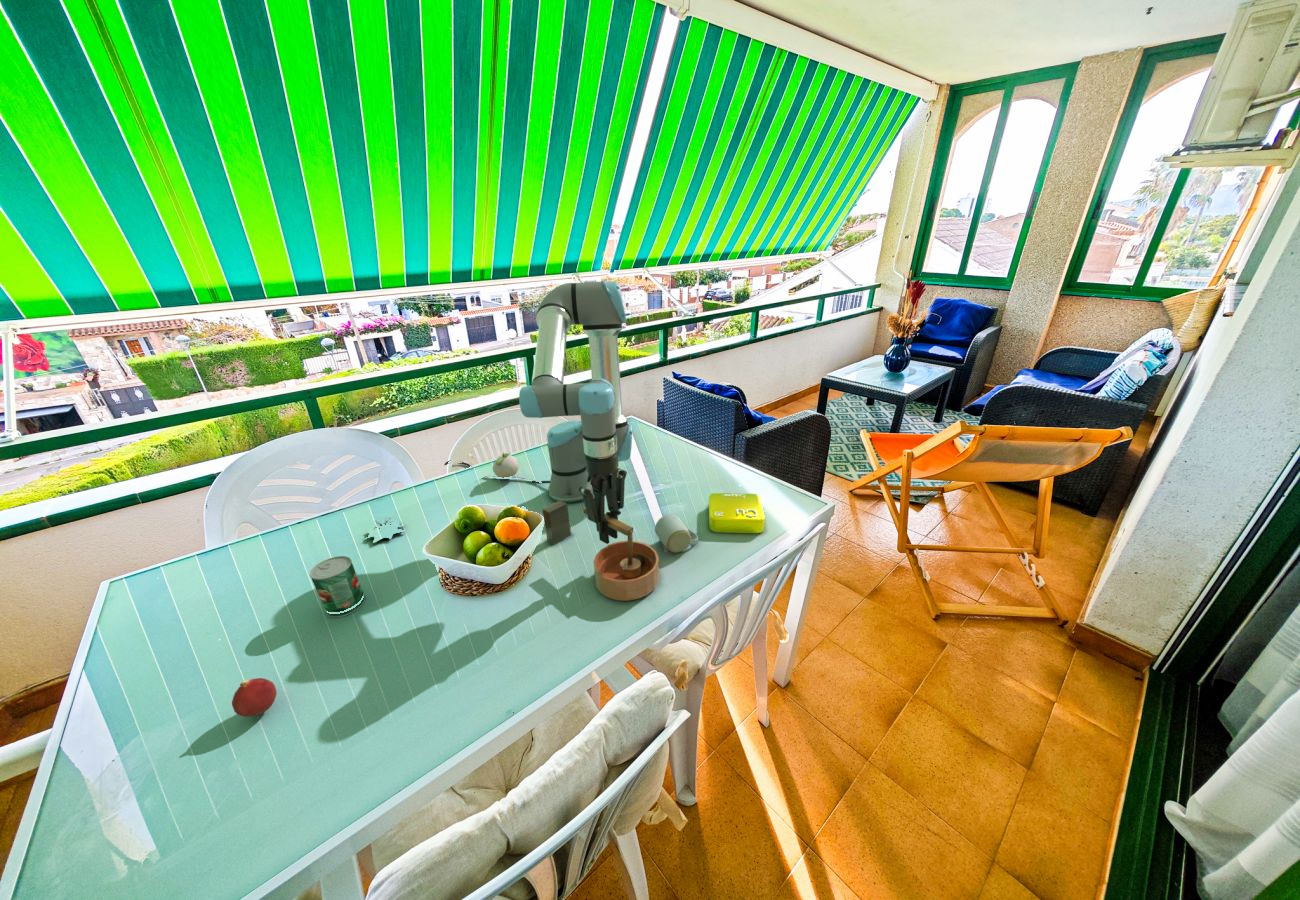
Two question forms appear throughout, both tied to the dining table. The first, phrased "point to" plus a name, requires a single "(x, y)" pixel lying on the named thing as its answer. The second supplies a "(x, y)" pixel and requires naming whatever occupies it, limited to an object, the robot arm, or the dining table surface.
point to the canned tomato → (337, 585)
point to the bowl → (614, 582)
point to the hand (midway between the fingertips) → (608, 538)
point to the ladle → (628, 565)
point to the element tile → (735, 513)
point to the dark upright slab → (556, 522)
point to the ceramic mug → (674, 533)
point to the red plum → (254, 697)
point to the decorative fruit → (505, 465)
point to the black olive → (640, 560)
